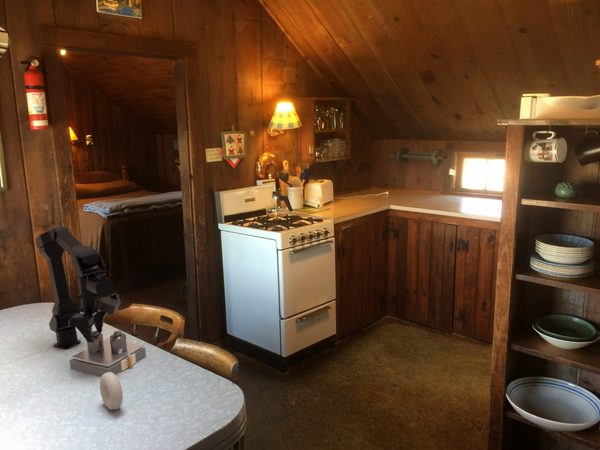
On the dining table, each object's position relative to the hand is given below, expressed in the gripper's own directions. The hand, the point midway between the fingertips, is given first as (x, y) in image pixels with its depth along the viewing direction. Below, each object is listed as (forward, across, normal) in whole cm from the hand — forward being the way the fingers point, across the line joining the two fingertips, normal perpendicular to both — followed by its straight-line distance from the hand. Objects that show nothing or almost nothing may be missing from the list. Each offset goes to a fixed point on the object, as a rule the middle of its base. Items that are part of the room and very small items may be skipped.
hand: (94, 337), depth 165 cm
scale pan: (+8, 0, -5) cm, 10 cm away
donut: (+9, -26, -16) cm, 32 cm away
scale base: (+9, 0, -4) cm, 9 cm away
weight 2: (+4, 0, -8) cm, 9 cm away
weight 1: (+5, 0, 0) cm, 5 cm away
